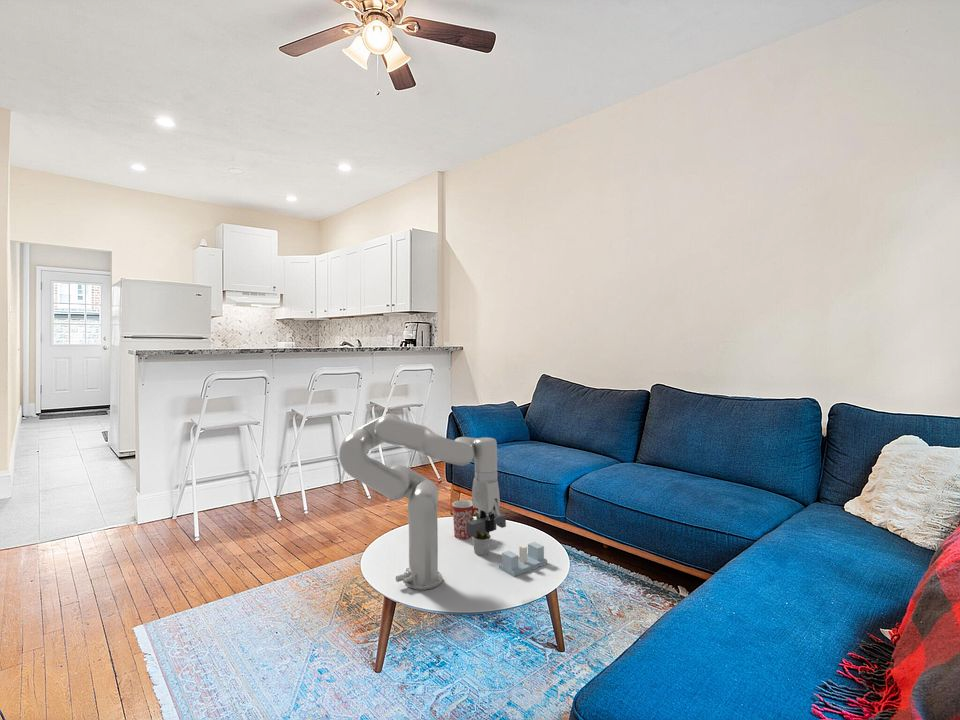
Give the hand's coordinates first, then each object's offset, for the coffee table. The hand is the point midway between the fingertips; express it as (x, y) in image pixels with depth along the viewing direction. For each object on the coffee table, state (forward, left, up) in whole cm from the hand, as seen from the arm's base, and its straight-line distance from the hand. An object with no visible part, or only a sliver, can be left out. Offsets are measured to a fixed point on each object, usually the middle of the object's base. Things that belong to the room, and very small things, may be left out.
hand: (486, 529), depth 167 cm
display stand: (+17, 0, -17) cm, 24 cm away
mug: (+17, +34, -18) cm, 42 cm away
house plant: (+11, +19, -18) cm, 28 cm away
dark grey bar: (0, 0, 0) cm, 0 cm away
